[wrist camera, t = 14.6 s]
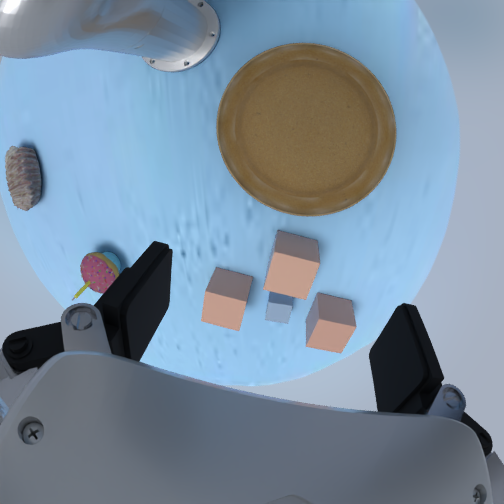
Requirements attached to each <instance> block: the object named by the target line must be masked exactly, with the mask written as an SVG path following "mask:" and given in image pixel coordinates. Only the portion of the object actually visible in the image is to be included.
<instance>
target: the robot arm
mask: <svg viewBox="0 0 504 504" xmlns="http://www.w3.org/2000/svg"><path fill="white" fill-rule="evenodd" d="M201 5H203V6H202V7H201ZM213 34H215V36H214V37H212V35H213ZM219 35H220V22H219V18H218V16H217V13H216V12H215V11H214V9H213V8H212V7H211V6H210V5H209V4H208V3H207V2H205V1H204V0H0V56H4V57H8V58H16V59H27V58H38V57H44V56H49V55H53V54H57V53H61V52H65V51H70V50H76V49H95V50H104V51H111V52H118V53H124V54H130V55H136V56H141V57H142V58H143V60H144V61H145V62H146V63H147V64H148V65H150V66H151V67H153V68H155V69H157V70H160V71H165V72H180V71H184V70H187V69H190V68H192V67H194V66H196V65H198V64H199V63H201V62H202V61H203V60H204V59H205V58H207V57H208V56H209V54H210V53H211V52H212V50H213V49H214V47H215V45H216V43H217V41H218V38H219ZM154 60H155V62H154ZM188 62H190V64H189V65H187V63H188ZM172 253H173V251H172V249H169V245H168V244H165V243H161V242H157V241H154V242H153V243H152V244H151V245H150V246H149V247H148V248H147V249H146V251H145V252H144V253H143V254H142V255H141V256H140V257H139V259H138V260H137V261H136V262H135V263H134V264H133V266H132V267H131V268H130V267H127V268H125V269H124V270H123V271H122V273H121V274H120V275H119V276H118V277H117V278H116V280H115V281H114V282H113V283H112V284H111V285H110V287H109V288H108V289H107V290H106V291H105V293H104V294H103V295H102V296H101V297H100V299H99V300H98V301H97V302H96V303H95V305H94V306H93V305H91V304H87V303H78V304H74V305H72V306H70V307H68V308H67V309H66V310H65V311H64V312H63V314H62V316H61V322H58V323H54V324H49V325H45V326H40V327H35V328H31V329H26V330H21V331H17V332H14V333H12V334H11V335H9V336H8V337H7V338H6V339H5V341H4V343H3V346H2V349H0V504H504V465H503V463H502V462H501V460H500V459H499V457H498V456H497V454H496V453H495V452H493V453H491V450H492V439H491V436H490V435H489V433H488V432H487V431H486V430H485V429H483V428H482V427H481V426H480V425H479V424H478V423H477V422H476V421H474V420H473V419H472V418H471V417H470V416H469V415H468V414H466V413H465V412H464V410H465V407H466V400H465V397H464V395H463V393H462V392H461V391H460V390H459V389H458V388H456V386H454V385H451V384H445V385H443V386H442V383H441V382H442V381H443V379H444V376H443V373H442V370H441V368H440V365H439V362H438V359H437V357H436V354H435V351H434V349H433V346H432V343H431V341H430V338H429V336H428V333H427V331H426V328H425V326H424V324H423V321H422V319H421V317H420V314H419V312H418V310H417V307H416V306H414V305H410V304H406V303H403V304H401V306H397V308H396V309H395V311H394V313H393V314H392V316H391V318H390V319H389V321H388V323H387V324H386V326H385V328H384V329H383V331H382V332H381V334H380V335H379V337H378V339H377V340H376V342H375V343H374V345H373V346H372V348H371V350H370V353H369V359H370V365H371V370H372V376H373V382H374V389H375V395H376V402H377V409H378V412H376V411H375V412H374V411H364V410H354V409H344V408H337V407H328V406H321V405H315V404H308V403H302V402H296V401H290V400H284V399H279V398H274V397H269V396H264V395H259V394H255V393H250V392H246V391H241V390H237V389H233V388H228V387H225V386H221V385H217V384H213V383H209V382H205V381H202V380H198V379H195V378H191V377H188V376H184V375H181V374H177V373H174V372H170V371H167V370H164V369H161V368H157V367H154V366H151V365H148V364H145V363H142V362H139V361H140V359H141V357H142V355H143V354H144V352H145V350H146V348H147V346H148V344H149V342H150V341H151V339H152V337H153V335H154V333H155V331H156V329H157V328H158V326H159V324H160V322H161V320H162V319H163V317H164V315H165V313H166V311H167V309H168V307H169V302H170V284H171V267H172Z"/></svg>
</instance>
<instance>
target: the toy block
mask: <svg viewBox="0 0 504 504" xmlns="http://www.w3.org/2000/svg"><path fill="white" fill-rule="evenodd" d="M319 265H320V258H319V249H318V241H317V240H314V239H310V238H306V237H302V236H298V235H295V234H291V233H287V232H283V231H279V230H277V234H276V237H275V241H274V244H273V248H272V252H271V255H270V259H269V262H268V266H267V272H266V277H265V283H264V288H263V290H267V291H271V292H275V293H280V294H284V295H288V296H292V297H296V298H300V299H304V300H306V298H307V296H308V293H309V291H310V288H311V286H312V283H313V281H314V278H315V276H316V273H317V270H318V268H319Z"/></svg>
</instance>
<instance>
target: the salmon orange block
mask: <svg viewBox="0 0 504 504" xmlns="http://www.w3.org/2000/svg"><path fill="white" fill-rule="evenodd" d="M355 329H356V322H355V316H354V311H353V306H352V301H351V300H347V299H343V298H339V297H334V296H330V295H326V294H322V293H317V295H316V297H315V299H314V302H313V304H312V307H311V309H310V311H309V314H308V316H307V318H306V347H311V348H316V349H321V350H326V351H331V352H337V353H342V351H343V349H344V348H345V346H346V344H347V343H348V341H349V339H350V337H351V336H352V334H353V332H354V330H355Z"/></svg>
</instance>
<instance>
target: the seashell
mask: <svg viewBox="0 0 504 504" xmlns="http://www.w3.org/2000/svg"><path fill="white" fill-rule="evenodd" d="M5 162H6V166H5V168H6V176H7V177H6V179H7V181H8V183H7V184H8V187H9V190H8V191H10V192H11V194H10V195H11V197H12V199H13V203H14V206H17V208H20V209H22V210H25V211H28V210H29V209H30V208H32V207H33V206H34V205H36V204H37V202H38V201H39V199H40V195H41V193H40V192H41V174H40V168H39V162H38V160H37V156H36V154H35V151H34V150H33V149H31V148H27V147H20V148H18V147H15V146H11V147H10V149H9V150H8V151H7V153H6V158H5Z"/></svg>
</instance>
